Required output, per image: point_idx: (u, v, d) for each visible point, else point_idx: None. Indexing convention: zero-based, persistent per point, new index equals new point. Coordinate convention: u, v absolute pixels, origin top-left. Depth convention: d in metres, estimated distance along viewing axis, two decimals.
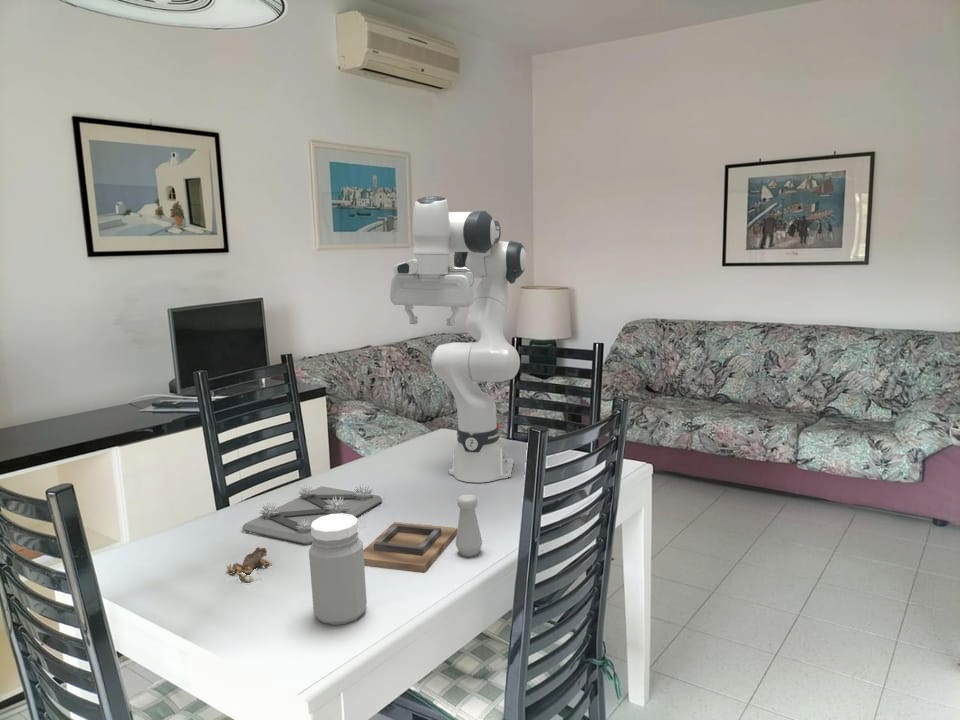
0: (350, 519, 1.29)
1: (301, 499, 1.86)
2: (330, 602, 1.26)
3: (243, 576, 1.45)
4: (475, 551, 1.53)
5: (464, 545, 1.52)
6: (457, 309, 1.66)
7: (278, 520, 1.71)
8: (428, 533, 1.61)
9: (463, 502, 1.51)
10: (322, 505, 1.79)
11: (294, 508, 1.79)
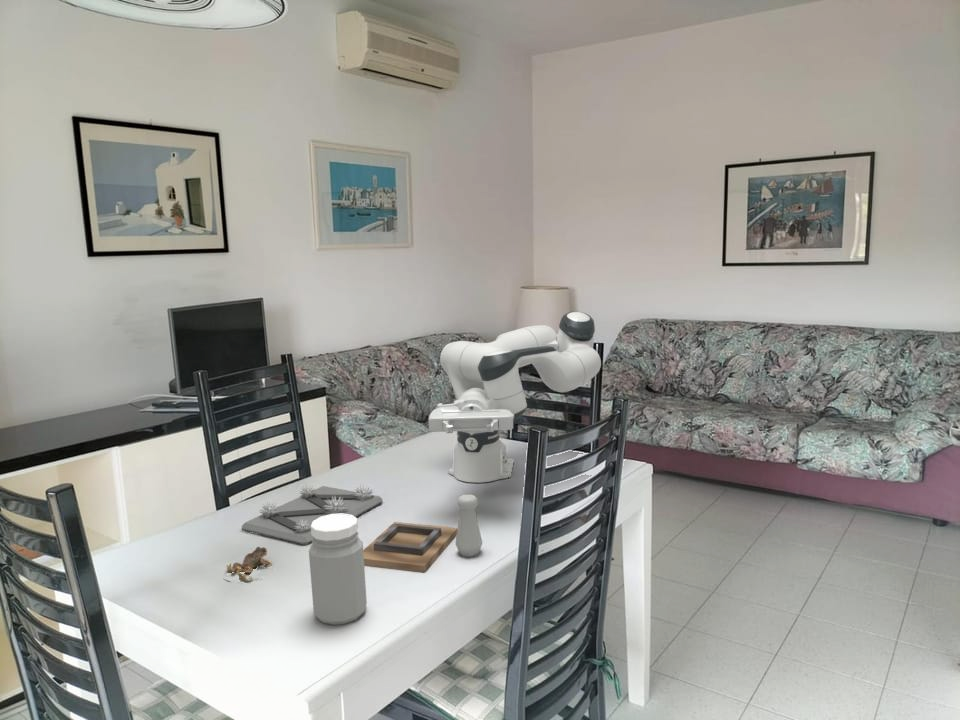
0: (350, 519, 1.29)
1: (302, 499, 1.86)
2: (330, 602, 1.26)
3: (243, 575, 1.45)
4: (475, 551, 1.53)
5: (464, 545, 1.52)
6: (498, 423, 1.66)
7: (277, 520, 1.71)
8: (428, 533, 1.61)
9: (463, 502, 1.51)
10: (322, 505, 1.79)
11: (295, 508, 1.80)
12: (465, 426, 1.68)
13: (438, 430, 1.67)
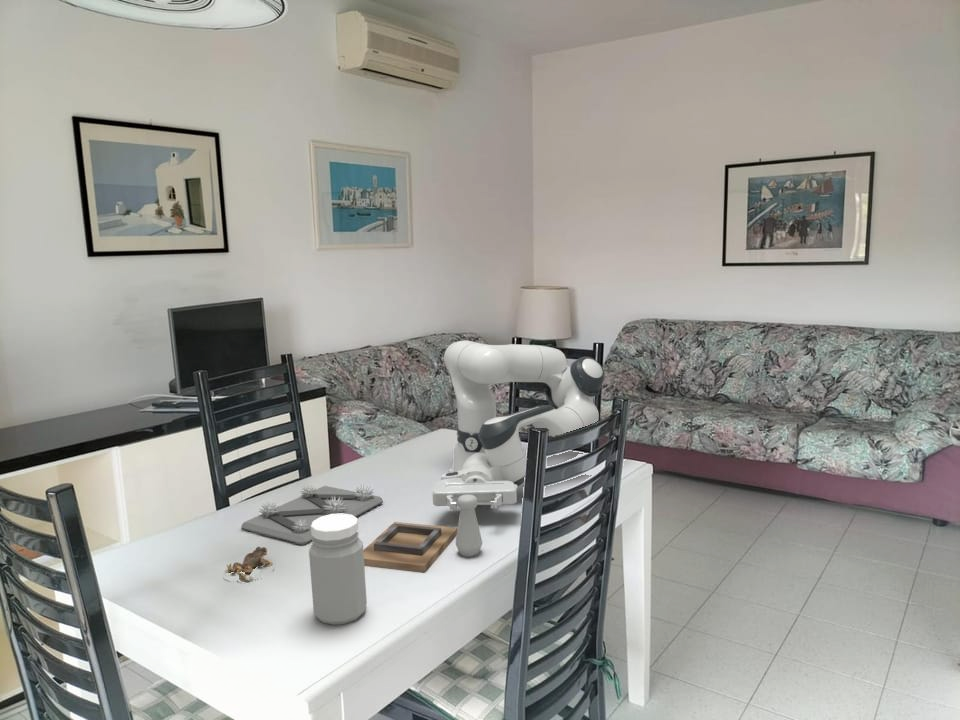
0: (350, 519, 1.29)
1: (303, 498, 1.86)
2: (330, 602, 1.26)
3: (243, 575, 1.45)
4: (475, 551, 1.53)
5: (464, 545, 1.52)
6: (501, 497, 1.67)
7: (276, 519, 1.71)
8: (428, 533, 1.61)
9: (463, 502, 1.51)
10: (322, 505, 1.79)
11: (295, 507, 1.80)
12: None
13: (442, 504, 1.68)
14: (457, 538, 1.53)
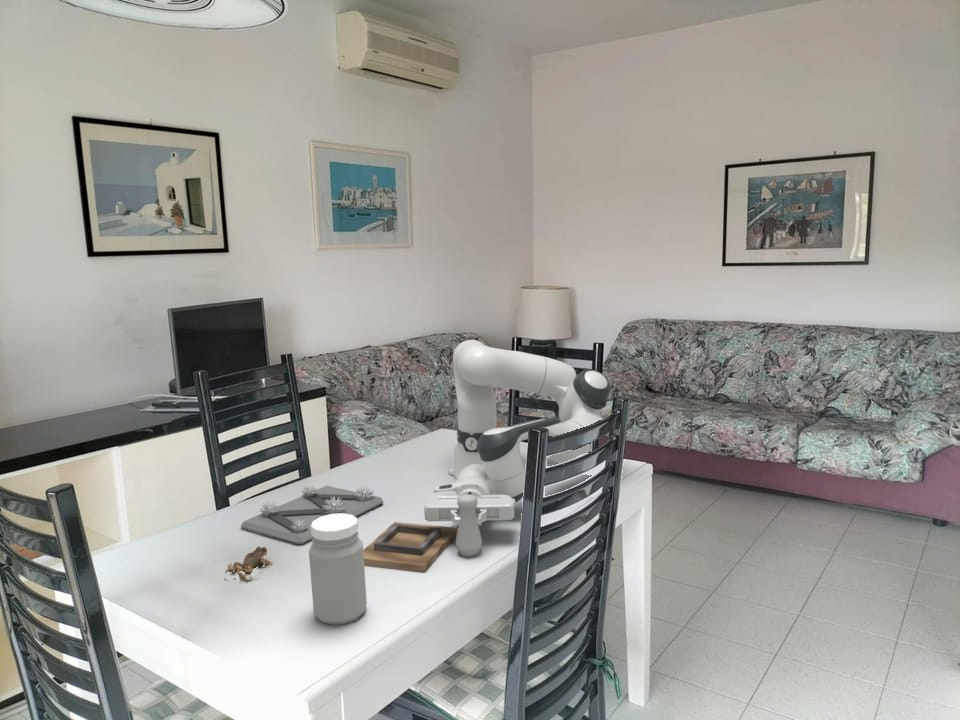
0: (350, 519, 1.29)
1: (303, 498, 1.86)
2: (330, 602, 1.26)
3: (243, 575, 1.45)
4: (475, 551, 1.53)
5: (464, 545, 1.52)
6: (486, 513, 1.56)
7: (276, 519, 1.72)
8: (428, 533, 1.61)
9: (463, 502, 1.51)
10: (322, 505, 1.79)
11: (295, 507, 1.80)
12: None
13: (434, 520, 1.58)
14: (457, 538, 1.53)
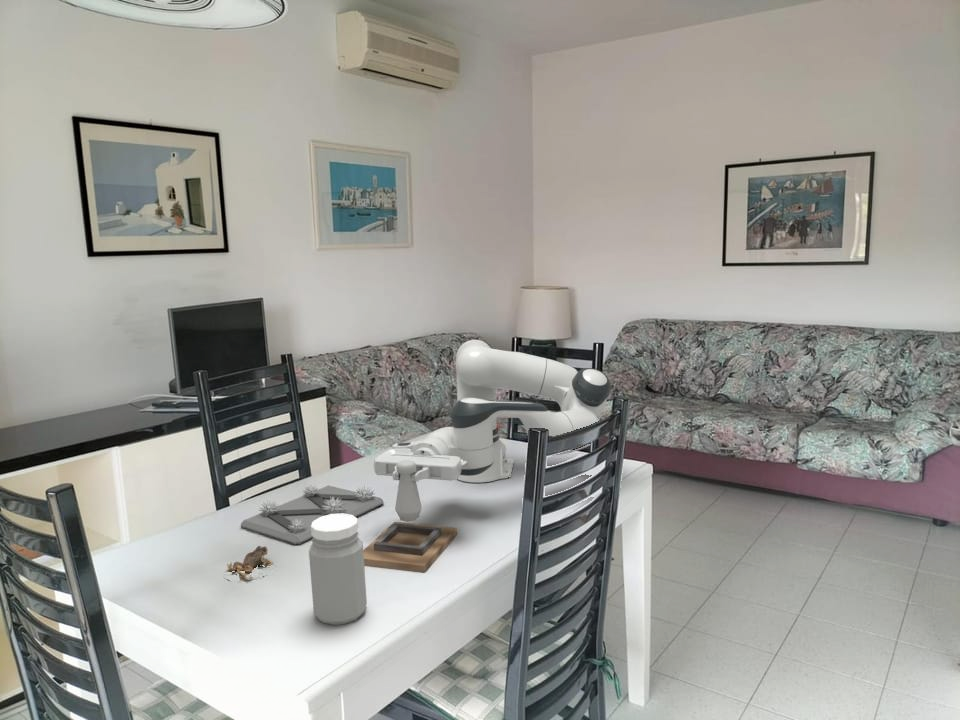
0: (350, 519, 1.29)
1: (305, 498, 1.86)
2: (330, 602, 1.26)
3: (243, 574, 1.45)
4: (411, 516, 1.54)
5: (399, 509, 1.54)
6: (428, 471, 1.57)
7: (275, 518, 1.72)
8: (428, 533, 1.61)
9: (399, 467, 1.53)
10: (322, 505, 1.79)
11: (295, 507, 1.80)
12: None
13: (382, 474, 1.61)
14: (396, 502, 1.56)
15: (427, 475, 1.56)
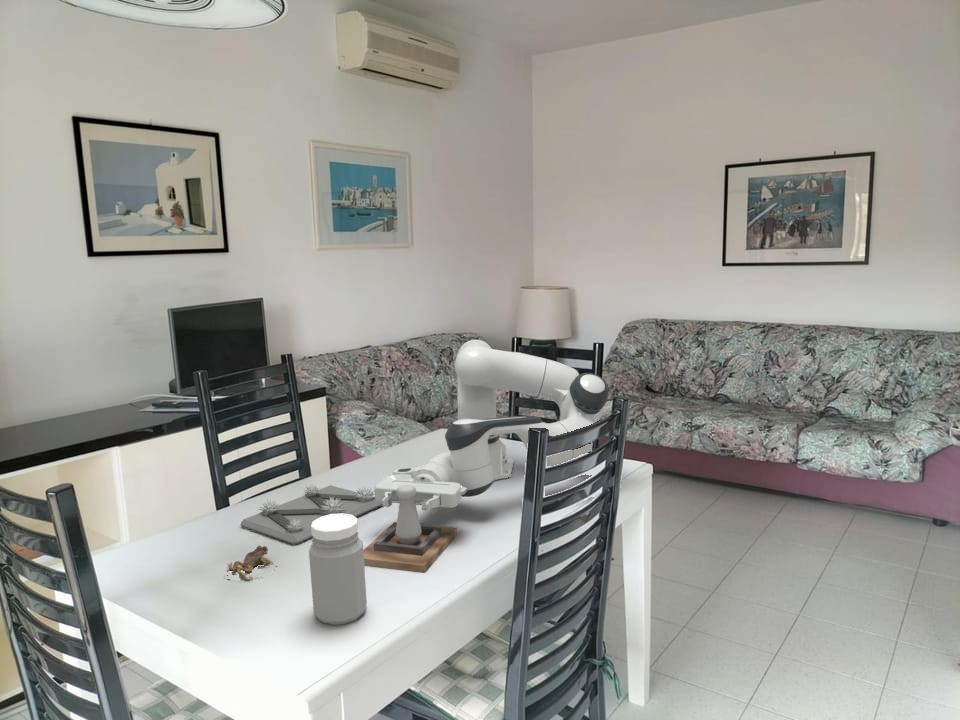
0: (350, 519, 1.29)
1: (306, 497, 1.87)
2: (331, 602, 1.26)
3: (243, 574, 1.45)
4: (411, 541, 1.55)
5: (399, 533, 1.55)
6: (438, 499, 1.57)
7: (274, 518, 1.72)
8: (428, 533, 1.61)
9: (399, 492, 1.54)
10: (322, 505, 1.79)
11: (295, 506, 1.81)
12: None
13: None
14: None
15: (437, 503, 1.57)
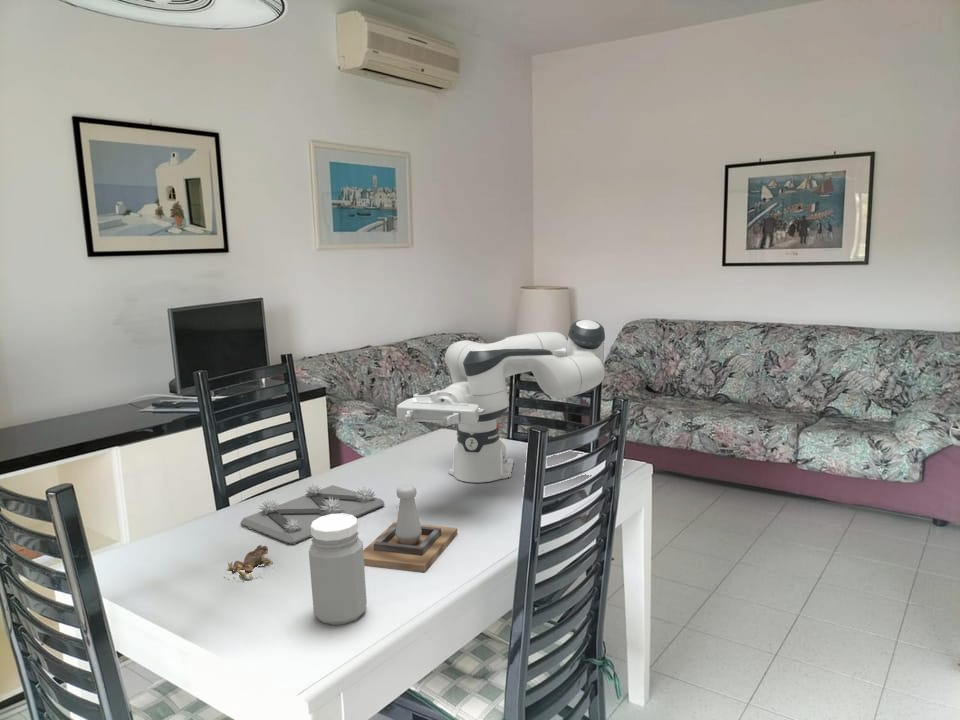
0: (350, 519, 1.29)
1: (307, 497, 1.87)
2: (330, 602, 1.26)
3: (243, 574, 1.45)
4: (411, 541, 1.55)
5: (399, 533, 1.55)
6: (458, 416, 1.66)
7: (273, 517, 1.73)
8: (428, 533, 1.61)
9: (399, 492, 1.54)
10: (322, 505, 1.79)
11: (296, 506, 1.81)
12: (430, 417, 1.69)
13: (404, 419, 1.71)
14: None
15: (457, 420, 1.65)
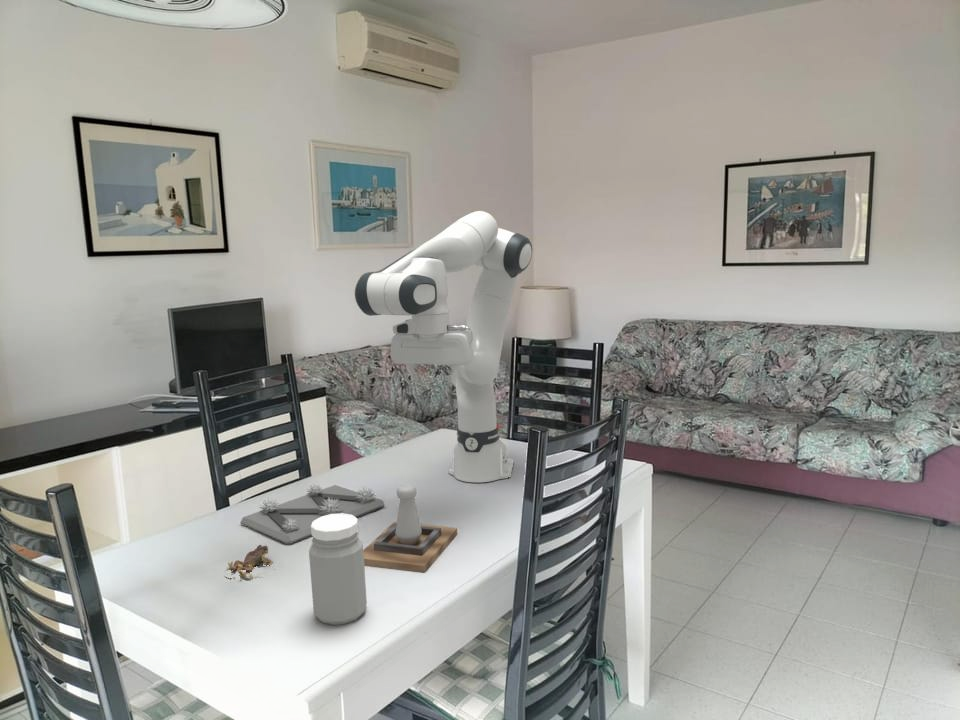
0: (350, 519, 1.29)
1: (308, 497, 1.87)
2: (331, 602, 1.26)
3: (243, 573, 1.46)
4: (411, 541, 1.55)
5: (399, 533, 1.55)
6: (457, 367, 1.67)
7: (273, 516, 1.73)
8: (428, 533, 1.61)
9: (399, 492, 1.54)
10: (322, 505, 1.79)
11: (296, 505, 1.81)
12: None
13: None
14: None
15: (458, 368, 1.68)
